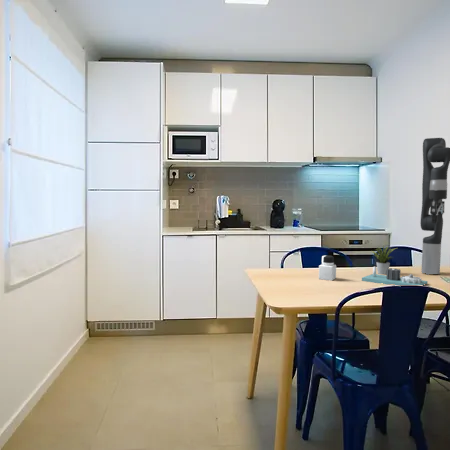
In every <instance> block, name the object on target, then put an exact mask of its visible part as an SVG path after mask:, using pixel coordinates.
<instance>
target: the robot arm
mask: <svg viewBox="0 0 450 450" xmlns="http://www.w3.org/2000/svg"><path fill="white" fill-rule="evenodd" d="M446 143H447V142H446V139H445V138H443V137H429V138H428V137H427V138H424V139H423V141H422V166H423V167H422V168H423V169H422V170H423V171H422V182H421V183H422V186H421V187H422V188H421V189H422V194H421V195H422V196H421V197H422V201H421V213H420V221H419V223H420V228H421V230H422V231H425V232H433V234H432V235H429V236H425V237H423V238H422V249H421V252H422V253H421V255H422V256H421V272H422V273H421V274H423V273H426V274H425V275H429V274H439V275H440V274H441V272H440V271H441V256H442V255H441V254H442V252H441V251H442V238H443V226H444V218H443V215H444V214H445V200H447V198H448V171H449V166H450V147H447V144H446ZM432 163H434V164H435V163H443V164H442V165H440V166H437V167H434V166H433V164H432Z"/></svg>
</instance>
